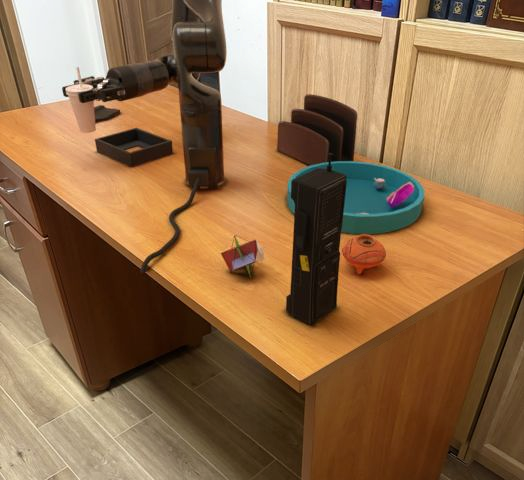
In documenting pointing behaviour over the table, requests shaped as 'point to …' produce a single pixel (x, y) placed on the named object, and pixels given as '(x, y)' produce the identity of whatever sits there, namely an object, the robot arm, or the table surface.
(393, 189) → the round teal tray
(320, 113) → the letter holder
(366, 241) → the pot
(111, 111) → the curved wedge
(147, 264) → the robot arm
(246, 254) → the geometric puzzle
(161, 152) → the dark grey rectangular frame
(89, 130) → the smoothie
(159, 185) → the table surface
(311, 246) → the portable radio
